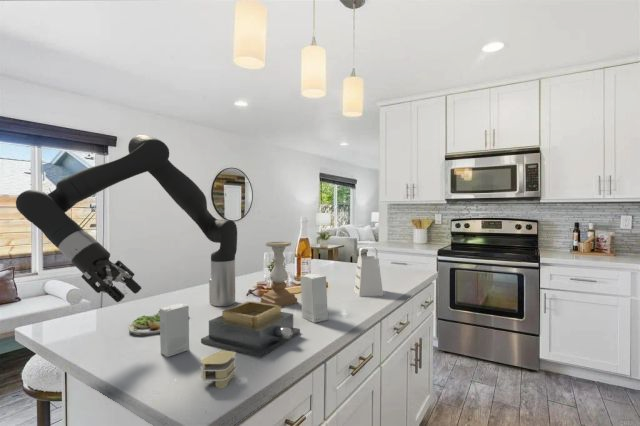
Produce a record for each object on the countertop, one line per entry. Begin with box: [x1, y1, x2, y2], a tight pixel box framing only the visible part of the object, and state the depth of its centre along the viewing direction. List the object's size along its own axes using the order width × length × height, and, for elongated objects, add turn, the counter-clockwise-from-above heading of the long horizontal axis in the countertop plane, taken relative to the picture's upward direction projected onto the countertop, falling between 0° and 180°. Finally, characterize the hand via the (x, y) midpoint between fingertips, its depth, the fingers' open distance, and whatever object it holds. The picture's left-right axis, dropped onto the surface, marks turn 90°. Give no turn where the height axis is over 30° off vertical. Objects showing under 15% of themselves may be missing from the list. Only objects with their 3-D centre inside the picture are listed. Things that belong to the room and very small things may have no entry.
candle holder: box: [260, 241, 298, 307], centre depth 135 cm, size 11×11×24 cm
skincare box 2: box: [299, 273, 329, 324], centre depth 115 cm, size 8×6×15 cm
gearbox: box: [200, 300, 301, 359], centre depth 97 cm, size 24×19×8 cm
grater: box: [353, 246, 384, 297], centre depth 149 cm, size 10×10×20 cm
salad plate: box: [128, 310, 160, 336], centre depth 108 cm, size 19×18×5 cm
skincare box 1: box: [159, 302, 190, 358], centre depth 88 cm, size 6×4×12 cm
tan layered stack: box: [200, 349, 237, 388], centre depth 74 cm, size 10×9×6 cm
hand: (130, 295), depth 88 cm, fingers open, 8 cm apart
